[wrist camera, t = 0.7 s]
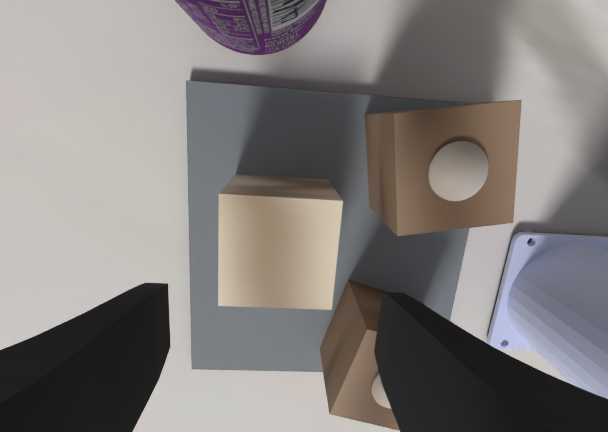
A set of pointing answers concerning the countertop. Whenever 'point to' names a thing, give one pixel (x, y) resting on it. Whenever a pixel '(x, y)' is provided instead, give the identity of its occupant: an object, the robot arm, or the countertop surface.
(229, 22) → the beverage can
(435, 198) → the walnut block
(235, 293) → the maple block
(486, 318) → the countertop surface
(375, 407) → the walnut block
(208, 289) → the slate mat
